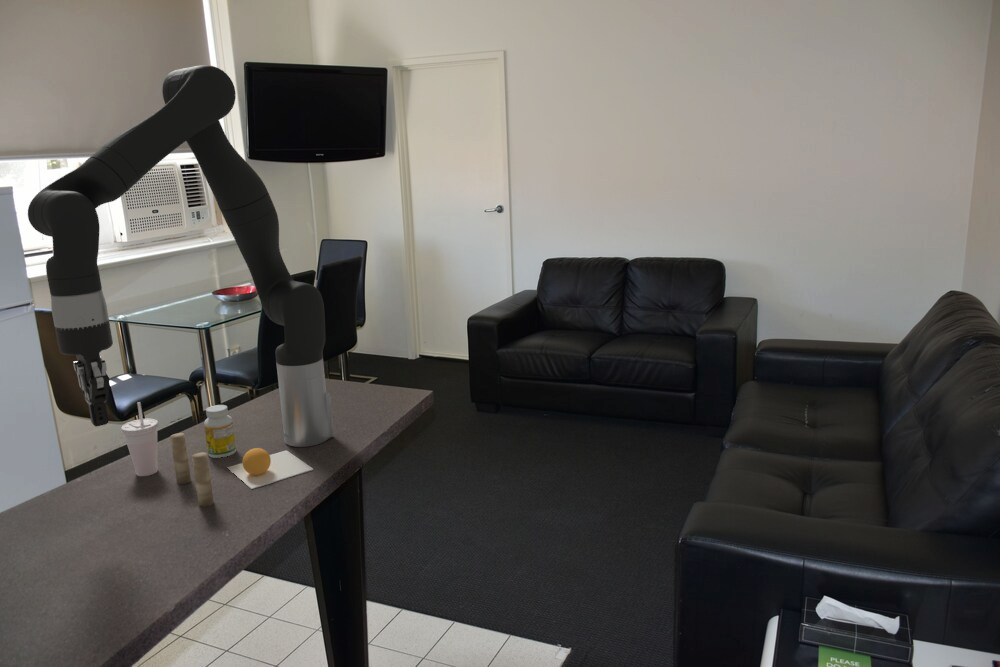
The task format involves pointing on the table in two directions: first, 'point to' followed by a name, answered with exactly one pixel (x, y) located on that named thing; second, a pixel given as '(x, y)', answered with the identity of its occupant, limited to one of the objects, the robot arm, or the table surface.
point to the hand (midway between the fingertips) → (100, 423)
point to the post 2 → (202, 479)
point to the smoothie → (142, 443)
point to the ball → (256, 461)
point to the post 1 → (180, 458)
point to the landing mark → (272, 470)
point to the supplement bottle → (219, 432)
